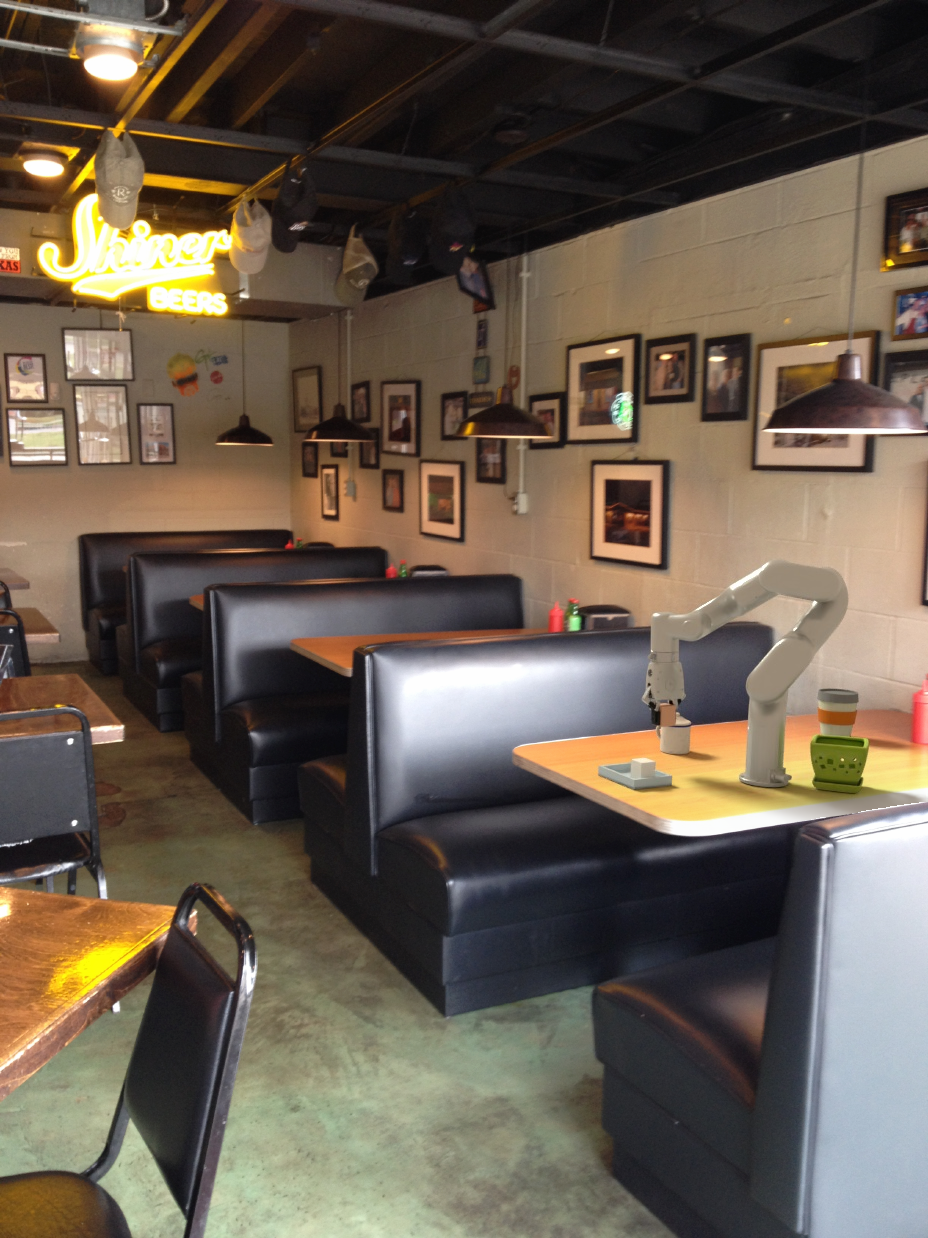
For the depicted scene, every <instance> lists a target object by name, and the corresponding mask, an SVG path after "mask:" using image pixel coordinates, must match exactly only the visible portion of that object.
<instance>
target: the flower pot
mask: <svg viewBox="0 0 928 1238" xmlns="http://www.w3.org/2000/svg"><path fill="white" fill-rule="evenodd" d="M809 744H810V747H809V749H810V762H811V766H812V769H813V772H814V775H813V777H812V780H811V784H812V786H813V787H814V788H815V789H816V790H822V791H828V792H829V791H830V792H837V793H839V792H840V793H849V794H857V793H858V792H859V791H861V789H862V788H863V787H862V786H863V783H864V777H863V776H862V775H863V773H864V769H865V767H866V764H867V759H868V755H869V749H870V742H869V739H868V738H866V737H858V736H857V737H855V736H851V737H846V736H833V735H821V734H817V733H816V734H814V735H813V736H812V737H811V740H810V742H809ZM842 759H843V760H842Z"/></svg>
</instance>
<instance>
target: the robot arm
mask: <svg viewBox="0 0 928 1238" xmlns="http://www.w3.org/2000/svg"><path fill="white" fill-rule="evenodd" d="M777 596H785V597H790V598H795V599H802V600H806V601H810V602H811V601H812V602H811V603H812V604H810V606H809V608H808V609H807V610H806V611H805V612H804V614H803V615H802V616H801V618H800V619H799V620H798V621H797V622H796V624H795V625H793V627H792V628H791V629H790V630H789V631H788V632H787V633H786V634H784V635H783V636H781V638H779V640H778V641H777V642H775V644H774V645H773V647H772V648H771V649H770V650H769V651H768V652H767V654H766V655H765V656H764V657H763V658H762V659H761V660H760V661H759V663H758V664H757V665H756V666H755V667H754V669H753V670H752V671H751V672H750V673H749V675H748V676H747V679H746V681H745V682H746V683H745V690H746V693H747V695H748V697H749V700H748V701H749V703H748V716H747V717H748V718H747V731H746V732H747V733H746V734H747V735H746V753H745V771H744V772H741V773H740V774H739V775H738V776H739V777H738V780H739V781H740V782H742V783H743V784H747V785H751V786H755V787H763V788H782V787H785V786H787V785H789V781H791V780H792V778H793V777H792V775H791V774H787V773H786V771H787V768H786V767H784V757H785V738H786V724H787V711H788V710H787V708H788V700H789V699H788V696H789V689H790V688H791V686H792V685H793V684H794V683H795V682H796V681H797V680H798V679H799V677H800V676H801V675H802V674H803V673H804V672H805V671H806V670H807V668H808V667H809V666H810V665H811V663H812V661H813V660H814V658H815V656H816V654H817V653H818V652H819V650H820V649H821V648H822V647H823V646H824V644H825V643H826V642H827V641H828V639H830V637H831V636H832V635H833V633H834V632H836V630H837V629H838V627H839V626H840V624H841V622H842V621H843V619H844V618H845V616H846V615H847V611H848V607H849V606H848V605H849V591H848V588H847V584H846V582H845V580H844V578H843V576H842V575H841V573H840V572H839V571H837V569H835V568H833V567H831V566H830V567H829V566H828V567H827V566H824V567H823V566H822V567H816V566H812V565H811V566H810V565H805V564H799V563H795V562H789V561H788V560H786V559H785V558H784V559H783V558H775V559H771V560H769V561H767V562H766V563H764V564H763V565H761V566H760V567H758V568H757V569H755V570H753V571H752V572H750V573H749V574H747V575H746V576H744V577H742V578H740V579H739V580H737V581H735V582H733V583H732V584H730V585H729V586H728V587H726V588H725V589H724V590H723V591H722V592H721V593H720V594H719V595H717V596H716V597H714V598H712V600H710V601H708V602H706V603H704V604H703V605H701V606H699V607H698V608H696V609H693V611H690V612H688V613H683V614H681V613H680V614H677V613H676V612H672V611H659V612H658V611H657V612H654V613H652V615H651V617H650V654H648V655H647V659H648V660H650V662H648V664H647V665H648V666H647V670H646V676H645V678H646V679H645V691H644V694H643V695H642V697H641V702H643V703H644V704H646V706H647V707H648V708H649V710H650V712H651V714H650V717H651V719H650V720H651V725H653V724H654V725H653V726H656V727H657V726H659V725H660V711H659V707H660V704H661V703H662V702H661V701H667V704H671V705H675V706H676V710H678V709H679V706H680V705H681V703H682V702H683V700H684V699H685V698H686V697H687V694H686V693H685V681H684V680H685V679H684V671H683V666H682V662H681V661H679V660H680V659H679V656H680V655H679V653H680V650H679V649H680V647H679V646H680V640H681V641H686V642H696V641H698V640H701V639H703V638H704V637H706V636H707V635H709V634H711V633H712V632H714V631H716V630H718V629H719V628H721V627H723V626H724V625H726V624H727V623H730V622H731V621H733V620H734V619H737V618H739V617H742V616H744V615H747V614H748V613H750V612H752V611H753V610H755V609H756V608H758V607H760V606H762V605H764V604H765V603H767V602H768V601H770V600H772V599H774V598H776V597H777ZM675 723H676V717H675Z"/></svg>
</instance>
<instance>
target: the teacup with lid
mask: <svg viewBox="0 0 928 1238" xmlns="http://www.w3.org/2000/svg"><path fill="white" fill-rule="evenodd" d="M691 727H692V722H691V721H690V720H688V719H686V718H685V717H683V716H681V714H680V712H677V711H676V723H675V726H667V727H660V726H657V725H656V727H655V734H656V737H657V738H658V739H659V741H660V742H659V750H660V751H661V752H662V753H664V754H669V755H677V756H678V755H680V756H681V755H686V754H687V755H688V753H690V750H691V748H690V747H691V729H692V728H691Z"/></svg>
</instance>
